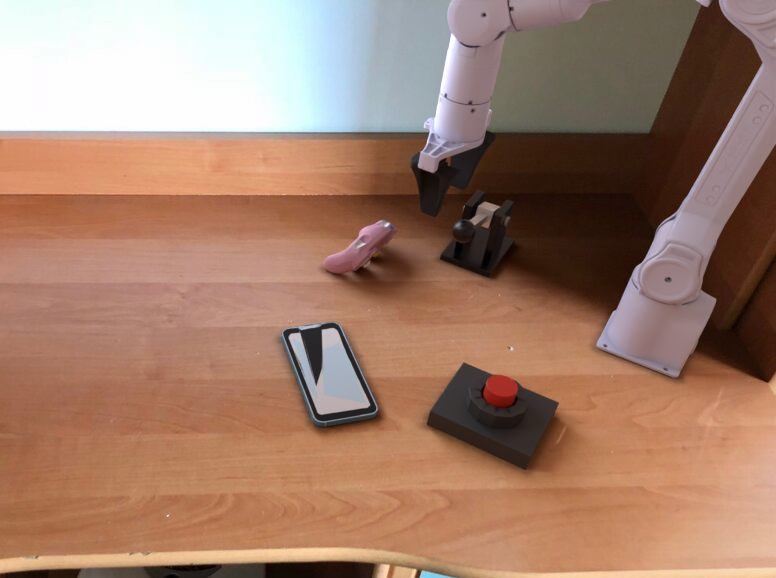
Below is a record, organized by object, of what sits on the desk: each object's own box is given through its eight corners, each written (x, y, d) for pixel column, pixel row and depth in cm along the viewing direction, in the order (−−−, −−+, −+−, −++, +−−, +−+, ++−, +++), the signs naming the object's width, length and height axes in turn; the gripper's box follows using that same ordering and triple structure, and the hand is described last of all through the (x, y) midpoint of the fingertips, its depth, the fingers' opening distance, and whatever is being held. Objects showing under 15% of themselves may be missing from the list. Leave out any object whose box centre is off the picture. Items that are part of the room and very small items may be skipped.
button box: (553, 416, 86) (564, 390, 83) (525, 470, 81) (535, 445, 78) (459, 375, 90) (466, 350, 87) (426, 424, 84) (432, 399, 82)
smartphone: (314, 424, 83) (278, 328, 93) (314, 430, 84) (278, 334, 94) (381, 413, 84) (338, 320, 94) (380, 418, 85) (338, 326, 95)
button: (518, 394, 83) (522, 382, 82) (507, 413, 81) (511, 401, 80) (489, 382, 84) (493, 370, 83) (478, 400, 82) (481, 388, 81)
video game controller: (342, 291, 103) (369, 261, 97) (318, 266, 103) (343, 235, 97) (383, 256, 108) (410, 226, 103) (359, 232, 109) (385, 201, 103)
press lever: (467, 248, 95) (474, 227, 94) (446, 240, 96) (452, 219, 95) (496, 226, 104) (503, 206, 103) (476, 219, 105) (483, 199, 104)
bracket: (488, 278, 103) (502, 228, 98) (439, 260, 106) (450, 210, 100) (513, 245, 109) (527, 196, 103) (465, 228, 111) (477, 179, 106)
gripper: (462, 62, 94) (441, 165, 103) (402, 105, 85) (385, 213, 95) (518, 79, 91) (491, 183, 101) (461, 126, 82) (438, 235, 92)
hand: (443, 199), depth 97 cm, fingers open, 7 cm apart
